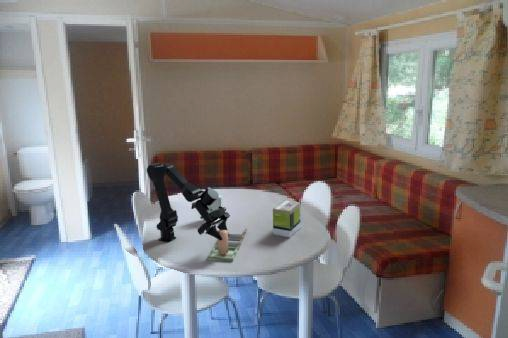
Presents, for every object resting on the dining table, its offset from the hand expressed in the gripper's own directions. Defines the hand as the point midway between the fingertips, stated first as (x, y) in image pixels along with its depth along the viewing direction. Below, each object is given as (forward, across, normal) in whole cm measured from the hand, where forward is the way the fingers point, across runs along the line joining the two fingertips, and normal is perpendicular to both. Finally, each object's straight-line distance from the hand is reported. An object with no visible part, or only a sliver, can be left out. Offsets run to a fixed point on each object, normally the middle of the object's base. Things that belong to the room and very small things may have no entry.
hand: (225, 237), depth 175 cm
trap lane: (+2, +11, +10) cm, 15 cm away
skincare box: (-16, +34, +29) cm, 47 cm away
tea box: (+15, +40, -2) cm, 43 cm away
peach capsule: (+4, 0, +6) cm, 7 cm away
